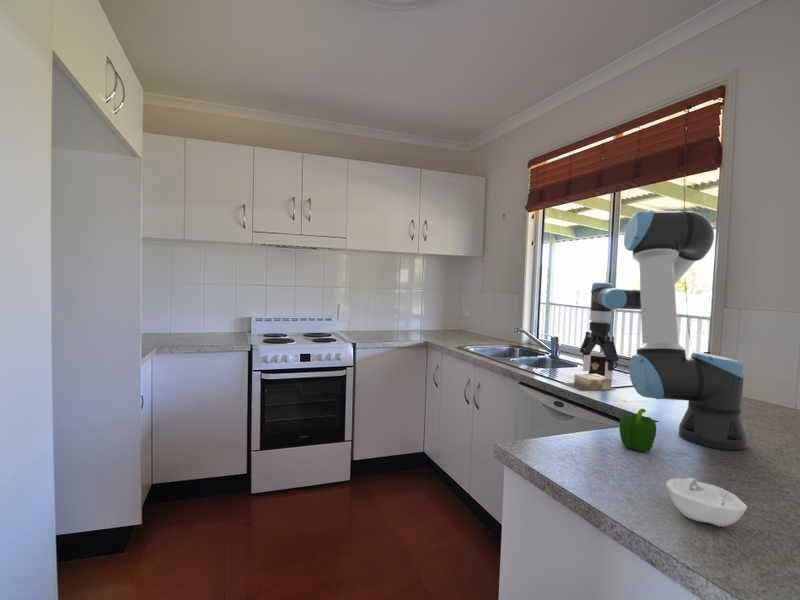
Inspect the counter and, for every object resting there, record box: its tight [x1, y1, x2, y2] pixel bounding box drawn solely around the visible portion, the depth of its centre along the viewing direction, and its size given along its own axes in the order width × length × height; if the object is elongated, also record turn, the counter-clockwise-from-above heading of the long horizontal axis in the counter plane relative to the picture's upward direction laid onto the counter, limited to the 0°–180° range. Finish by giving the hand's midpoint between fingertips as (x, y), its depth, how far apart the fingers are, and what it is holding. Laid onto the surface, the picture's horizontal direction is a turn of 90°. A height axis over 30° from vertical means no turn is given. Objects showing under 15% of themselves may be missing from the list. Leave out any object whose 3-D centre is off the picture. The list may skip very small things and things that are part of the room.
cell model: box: [665, 477, 748, 528], centre depth 78 cm, size 10×12×7 cm
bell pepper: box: [618, 408, 657, 452], centre depth 110 cm, size 8×8×10 cm
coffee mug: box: [588, 352, 618, 377], centre depth 191 cm, size 12×9×10 cm
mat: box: [562, 382, 616, 392], centre depth 172 cm, size 16×12×1 cm
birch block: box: [573, 373, 613, 390], centre depth 172 cm, size 4×9×10 cm
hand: (596, 374), depth 173 cm, fingers open, 13 cm apart
